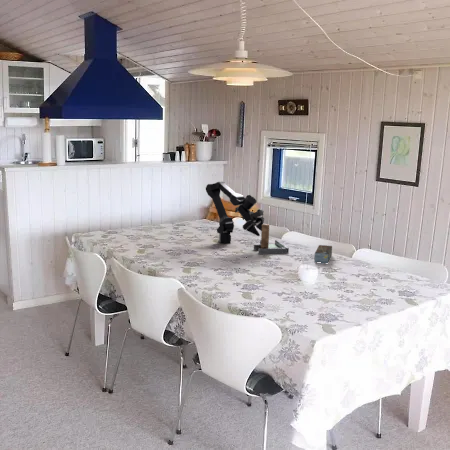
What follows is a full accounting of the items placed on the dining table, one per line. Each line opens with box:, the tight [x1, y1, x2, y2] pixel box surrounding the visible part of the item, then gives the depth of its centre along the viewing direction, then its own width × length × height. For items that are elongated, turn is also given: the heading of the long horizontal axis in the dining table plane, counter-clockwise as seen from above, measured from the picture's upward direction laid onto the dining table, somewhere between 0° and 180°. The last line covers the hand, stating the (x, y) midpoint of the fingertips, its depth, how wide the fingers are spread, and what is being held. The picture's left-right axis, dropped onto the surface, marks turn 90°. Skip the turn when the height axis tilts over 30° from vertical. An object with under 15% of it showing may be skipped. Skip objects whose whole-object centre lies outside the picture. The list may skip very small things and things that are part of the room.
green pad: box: [268, 243, 279, 248], centre depth 328 cm, size 7×9×1 cm
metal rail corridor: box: [253, 239, 290, 255], centre depth 321 cm, size 18×21×3 cm
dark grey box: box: [313, 244, 333, 264], centre depth 302 cm, size 8×19×7 cm, turn 163°
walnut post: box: [260, 223, 270, 248], centre depth 314 cm, size 4×4×16 cm
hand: (262, 234), depth 315 cm, fingers open, 9 cm apart
